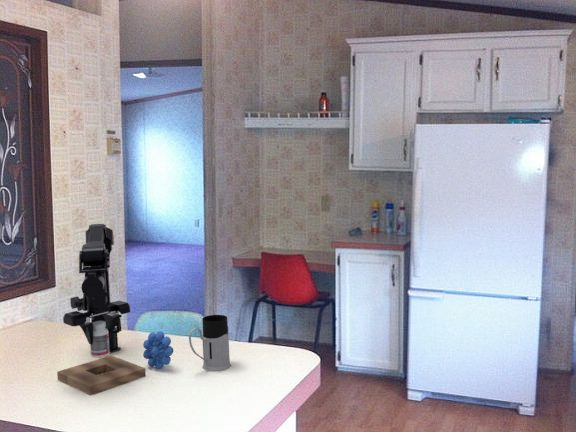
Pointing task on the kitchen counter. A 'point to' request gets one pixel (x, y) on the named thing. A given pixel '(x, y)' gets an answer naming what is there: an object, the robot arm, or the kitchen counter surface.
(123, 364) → the hole plate
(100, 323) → the pill bottle
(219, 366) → the glass holder
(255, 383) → the kitchen counter surface
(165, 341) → the grapes
